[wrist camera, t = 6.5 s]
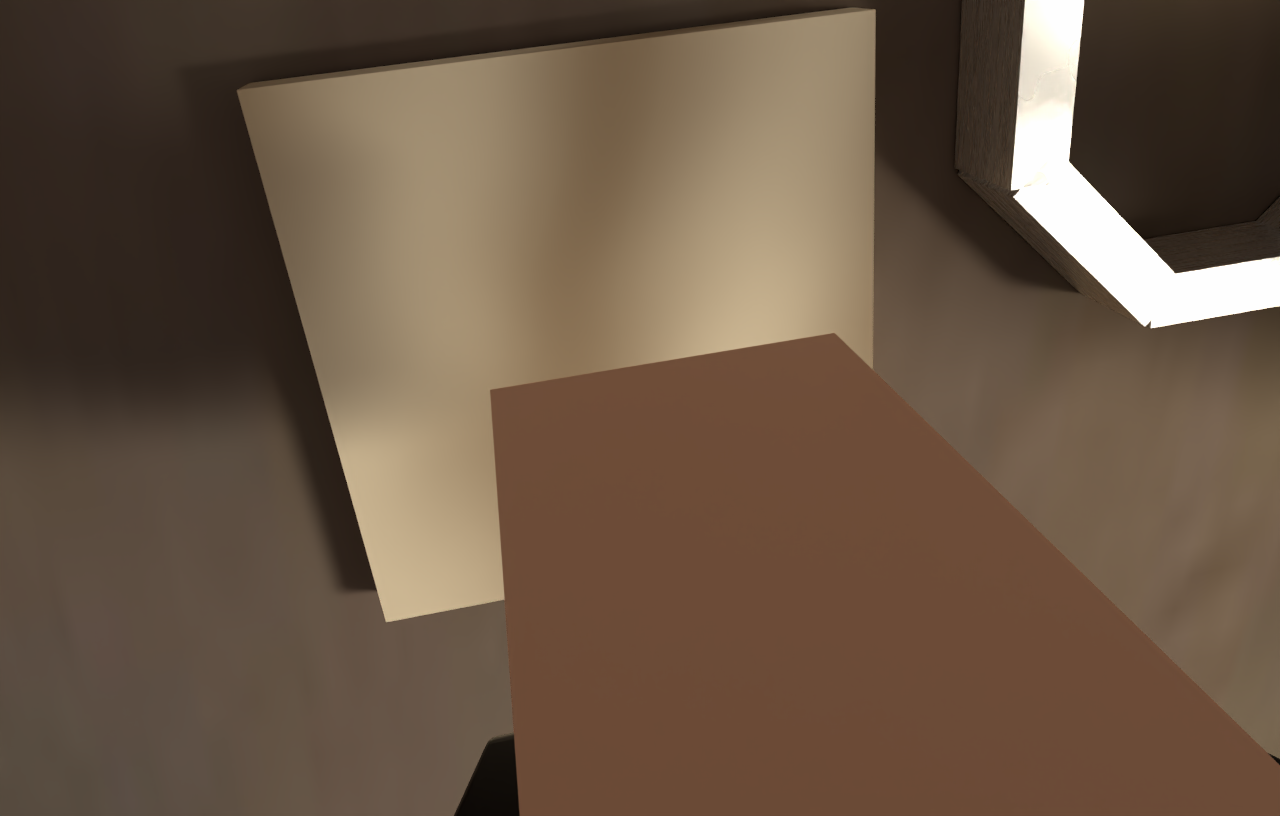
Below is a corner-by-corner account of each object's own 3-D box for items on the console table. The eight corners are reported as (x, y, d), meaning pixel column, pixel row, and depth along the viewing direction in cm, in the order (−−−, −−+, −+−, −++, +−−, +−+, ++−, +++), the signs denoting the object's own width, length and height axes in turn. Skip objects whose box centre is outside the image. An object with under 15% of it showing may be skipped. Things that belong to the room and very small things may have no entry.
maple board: (851, 7, 16) (875, 9, 15) (853, 504, 20) (871, 528, 19) (250, 83, 15) (236, 89, 14) (389, 591, 19) (385, 622, 18)
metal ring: (1540, -340, 15) (1680, -380, 14) (1389, 244, 20) (1481, 270, 18) (975, -290, 14) (1048, -327, 13) (947, 318, 19) (999, 354, 17)
